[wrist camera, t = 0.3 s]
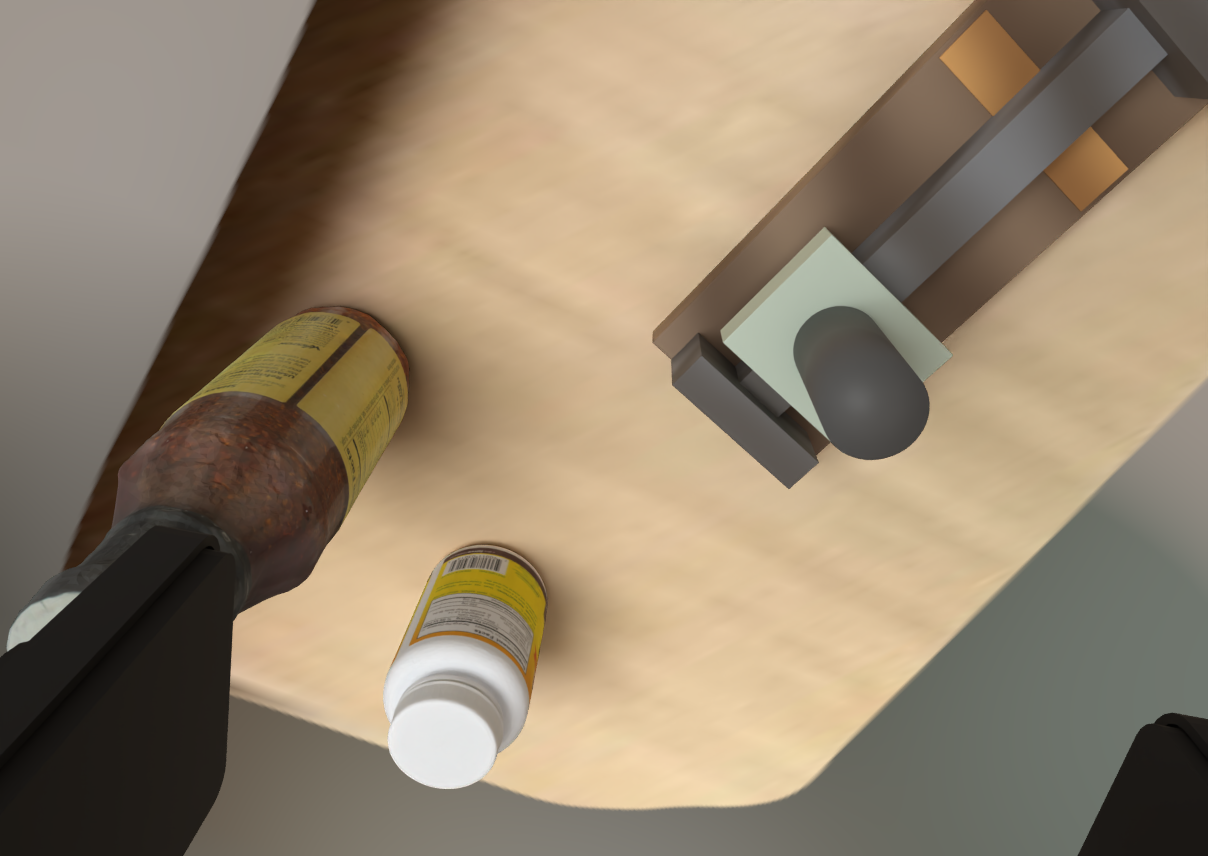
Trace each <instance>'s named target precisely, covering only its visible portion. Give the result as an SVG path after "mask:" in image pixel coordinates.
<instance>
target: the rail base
mask: <svg viewBox="0 0 1208 856" xmlns="http://www.w3.org/2000/svg"><path fill="white" fill-rule="evenodd" d="M1207 104H1208V0H975V1H974V2H973V3H972V4H971V5H970V6H969V7H968V8H967V9H966V10H965V11H964V12H963V13H962V14H961V15H960V16H959V17H958V18H957V19H956V21H955V22H954V23H953V24H952V25H951V26H950V27H949V28H948V29H947V30H946V31H945V32H944V33H943V34H942V35H941V36H940V37H939V38H938V39H937V40H936V41H935V42H934V43H933V44H932V45H931V46H930V47H929V48H928V49H927V50H926V51H925V52H924V53H923V54H922V55H921V57H920V58H919V59H918V60H917V61H916V62H915V63H914V64H913V65H912V66H911V67H910V68H909V69H908V70H907V71H906V72H905V73H904V74H903V75H902V76H901V77H900V78H899V79H898V80H897V81H896V82H895V83H894V84H893V85H892V86H891V87H890V88H889V89H888V90H887V91H886V93H885V94H884V95H883V96H882V97H881V98H880V99H879V100H878V101H877V102H876V103H875V104H874V105H873V106H872V107H871V108H870V109H869V110H868V111H867V112H866V113H865V114H864V115H863V116H862V117H861V118H860V119H859V120H858V121H857V122H856V123H855V124H854V125H853V126H852V127H851V129H850V130H849V131H848V132H847V133H846V134H845V135H844V136H843V137H842V138H841V139H840V140H839V141H838V142H837V143H836V144H835V145H834V146H833V147H832V148H831V149H830V150H829V151H828V152H827V153H826V154H825V155H824V156H823V157H822V158H821V159H820V160H819V161H818V162H817V163H816V165H815V166H814V167H813V168H812V169H811V170H810V171H809V172H808V173H807V174H806V175H805V176H804V177H803V178H802V179H801V180H800V181H799V182H798V183H797V184H796V185H795V186H794V187H793V188H792V189H791V190H790V191H789V192H788V193H787V194H786V195H785V196H784V197H783V198H782V199H781V201H780V202H779V203H778V204H777V205H776V206H775V207H774V208H773V209H772V210H771V211H770V212H769V213H768V214H767V215H766V216H765V217H764V218H763V219H762V220H761V221H760V222H759V223H758V224H757V225H756V226H755V227H754V228H753V229H752V230H751V231H750V232H749V233H748V234H747V235H746V237H745V238H744V239H743V240H742V241H741V242H740V243H739V244H738V245H737V246H736V247H735V248H734V249H733V250H732V251H731V252H730V253H729V254H728V255H727V256H726V257H725V258H724V259H723V260H722V261H721V262H720V263H719V264H718V265H717V266H716V267H715V268H714V269H713V270H712V272H711V273H710V274H709V275H708V276H707V277H706V278H705V279H704V280H703V281H702V282H701V283H700V284H699V285H698V286H697V287H696V288H695V289H694V290H693V291H692V292H691V293H690V294H689V295H688V296H687V297H686V298H685V299H684V300H683V301H682V302H681V303H680V304H679V305H678V306H677V308H676V309H675V310H674V311H673V312H672V313H671V314H670V315H669V316H668V317H667V318H666V319H665V320H664V321H663V322H662V323H661V324H660V325H659V326H658V327H657V328H656V329H655V330H654V331H653V342H652V343H653V344H655V345H656V346H657V347H658V348H659V349H660V350H661V351H662V352H663V353H664V354H666V355H667V356H668V357H669V358H670V359H671V366H672V385H673V386H674V387H675V388H676V389H677V390H678V391H679V392H681V393H682V394H683V395H684V396H685V397H686V398H687V399H688V400H690V401H691V402H692V403H693V404H694V405H695V406H696V407H697V408H698V409H700V410H701V411H702V412H703V413H704V414H705V415H706V416H707V417H709V418H710V419H711V420H712V421H713V422H714V423H715V424H716V425H718V426H719V427H720V428H721V429H722V430H723V431H724V432H725V433H726V434H728V435H729V436H730V437H731V438H732V439H733V440H734V441H735V442H737V443H738V444H739V445H740V446H741V447H742V448H743V449H744V450H745V451H747V452H748V453H749V454H750V455H751V456H752V457H753V458H754V459H756V460H757V461H758V462H759V463H760V464H761V465H762V466H763V467H764V468H766V469H767V470H768V471H769V472H770V473H771V474H772V475H773V476H775V477H776V478H777V479H778V480H779V481H780V482H781V483H782V484H783V485H785V486H786V487H787V488H788V489H790V488H791V487H792V486H793V485H794V484H795V483H797V482H798V481H799V480H800V479H801V478H802V477H803V476H804V475H805V474H807V473H808V472H809V471H810V470H811V469H812V468H813V467H814V466H816V465H817V464H818V463H819V462H818V459H817V457H816V455H817V454H818V453H819V452H820V451H821V450H822V449H824V448H825V447H826V446H827V445H828V444H829V443H830V441H829V440H828V439H827V438H826V437H825V436H824V435H823V434H822V433H821V432H820V431H818V430H817V429H816V428H815V427H814V426H813V425H812V424H811V423H810V422H809V421H808V420H807V419H805V418H804V417H803V416H802V415H801V414H800V413H799V412H798V411H797V410H796V409H795V408H794V407H792V406H791V405H790V404H789V403H788V402H787V401H786V400H785V399H784V398H783V397H782V396H781V395H779V394H778V393H777V392H776V391H775V390H774V389H773V388H772V387H771V386H770V385H769V384H767V383H766V382H765V381H764V380H763V379H762V378H761V377H760V376H759V375H758V374H757V373H756V372H754V371H753V370H752V369H751V368H750V367H749V366H748V365H747V364H746V363H745V362H744V361H743V360H741V359H740V358H739V357H738V356H737V355H736V354H735V353H734V352H733V351H732V350H731V349H730V348H728V347H727V346H726V345H725V344H724V343H723V340H722V336H721V331H720V330H721V329H722V328H723V327H724V326H725V325H726V324H727V323H728V322H729V321H730V320H731V319H732V318H733V317H734V316H735V315H736V314H737V313H738V312H739V311H740V310H741V309H742V308H743V307H744V306H745V305H746V304H747V303H748V302H749V301H750V300H751V299H752V298H753V297H754V296H755V295H756V294H757V293H758V292H759V291H760V290H761V289H762V288H763V287H764V286H765V285H766V284H767V283H768V282H769V281H770V280H771V279H772V278H773V277H774V276H775V275H776V274H777V273H778V272H779V271H780V270H781V269H782V268H784V267H785V266H786V265H787V264H788V263H789V262H790V261H791V260H792V259H793V258H794V257H795V256H796V255H797V254H798V253H799V252H800V251H801V250H802V249H803V248H804V247H805V246H806V245H807V244H808V243H809V242H810V241H811V240H812V239H813V238H814V237H815V236H816V235H817V234H818V233H819V232H820V231H821V230H822V229H823V228H824V227H826V228H827V229H828V230H829V231H830V232H831V233H832V234H833V235H834V236H835V237H836V238H837V239H838V240H839V241H840V242H841V243H842V244H843V245H844V246H845V247H846V248H847V250H848V251H849V252H850V253H851V254H852V255H853V256H854V257H855V258H856V259H857V260H858V261H859V262H860V263H861V264H862V265H863V266H864V267H865V268H866V269H867V270H868V271H869V272H870V273H871V274H872V275H873V276H874V277H875V278H876V279H877V280H878V281H879V282H880V283H881V284H882V285H883V286H884V287H885V288H886V289H887V290H888V291H889V292H890V293H892V294H893V295H894V296H895V297H896V298H897V299H898V300H899V301H900V302H901V303H902V304H903V305H904V306H905V307H906V308H907V309H908V310H909V311H910V312H911V313H912V314H913V315H914V316H915V317H916V318H917V319H918V320H919V321H920V322H921V323H922V324H923V325H924V326H925V327H926V328H927V329H928V330H929V331H930V332H931V333H932V334H933V335H934V336H935V337H936V338H937V339H938V340H939V341H940V342H941V343H942V342H943V341H944V340H945V339H946V338H947V337H948V336H949V335H950V334H952V333H953V332H954V331H955V330H956V329H957V328H958V327H959V326H961V325H962V324H963V323H964V322H965V321H966V320H967V319H968V318H969V317H971V316H972V315H973V314H974V313H975V312H976V311H977V310H978V309H979V308H981V307H982V306H983V305H984V304H985V303H986V302H987V301H988V300H989V299H991V298H992V297H993V296H994V295H995V294H996V293H997V292H998V291H999V290H1001V289H1002V288H1003V287H1004V286H1005V285H1006V284H1007V283H1008V282H1009V281H1011V280H1012V279H1013V278H1014V277H1015V276H1016V275H1017V274H1018V273H1020V272H1021V271H1022V270H1023V269H1024V268H1025V267H1026V266H1027V265H1028V264H1030V263H1031V262H1032V261H1033V260H1034V259H1035V258H1036V257H1037V256H1038V255H1040V254H1041V253H1042V252H1043V251H1044V250H1045V249H1046V248H1047V247H1048V246H1050V245H1051V244H1052V243H1053V242H1054V241H1055V240H1056V239H1057V238H1058V237H1060V236H1061V235H1062V234H1063V233H1064V232H1065V231H1066V230H1067V229H1068V228H1070V227H1071V226H1072V225H1073V224H1074V223H1075V222H1076V221H1077V220H1079V219H1080V218H1081V217H1082V216H1083V215H1084V214H1085V213H1086V212H1087V211H1089V210H1090V209H1091V208H1092V207H1093V206H1094V205H1095V204H1096V203H1097V202H1099V201H1100V200H1101V199H1102V198H1103V197H1104V196H1105V195H1106V194H1107V193H1109V192H1110V191H1111V190H1112V189H1113V188H1114V187H1115V186H1116V185H1117V184H1119V183H1120V182H1121V181H1122V180H1123V179H1124V178H1125V177H1126V176H1127V175H1129V174H1130V173H1131V172H1132V171H1133V170H1134V169H1135V168H1136V167H1137V166H1139V165H1140V164H1141V163H1142V162H1143V161H1144V160H1145V159H1146V158H1148V157H1149V156H1150V155H1151V154H1152V153H1153V152H1154V151H1155V150H1156V149H1158V148H1159V147H1160V146H1161V145H1162V144H1163V143H1164V142H1165V141H1166V140H1168V139H1169V138H1170V137H1171V136H1172V135H1173V134H1174V133H1175V132H1176V131H1178V130H1179V129H1180V128H1181V127H1182V126H1183V125H1184V124H1185V123H1186V122H1188V121H1189V120H1190V119H1191V118H1192V117H1193V116H1194V115H1195V114H1196V113H1198V112H1199V111H1200V110H1201V109H1202V108H1203V107H1204V106H1205V105H1207Z"/></svg>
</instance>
